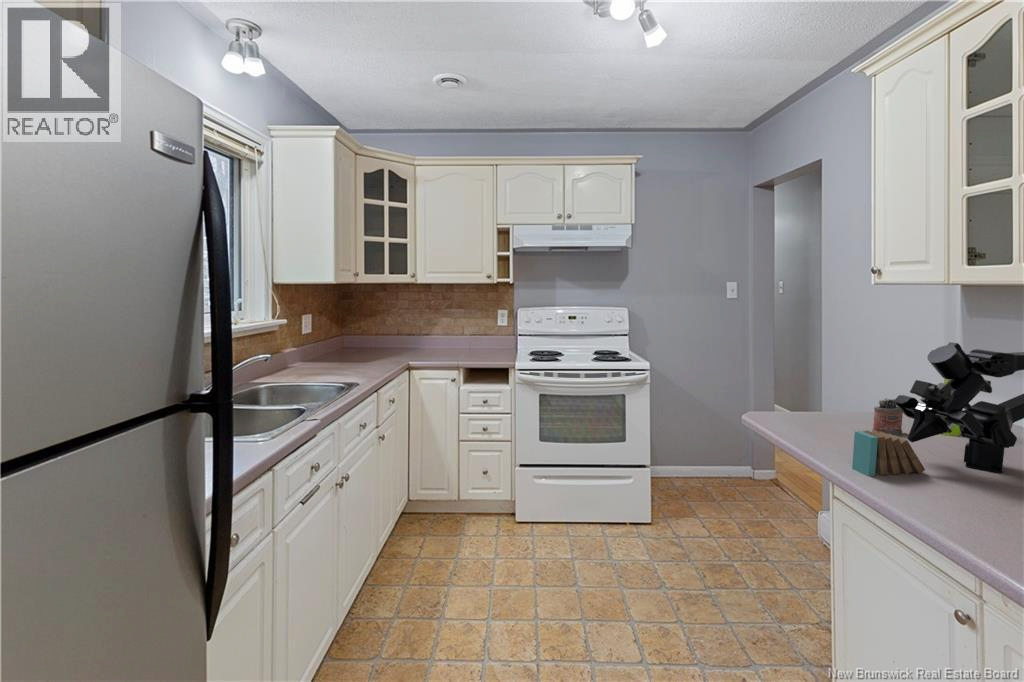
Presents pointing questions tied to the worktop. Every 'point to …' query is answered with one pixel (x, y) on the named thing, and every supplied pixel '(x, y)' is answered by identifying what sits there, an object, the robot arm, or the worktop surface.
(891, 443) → the domino
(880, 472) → the domino
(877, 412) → the red tin can
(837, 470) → the worktop surface
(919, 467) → the domino
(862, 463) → the domino
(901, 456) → the domino
